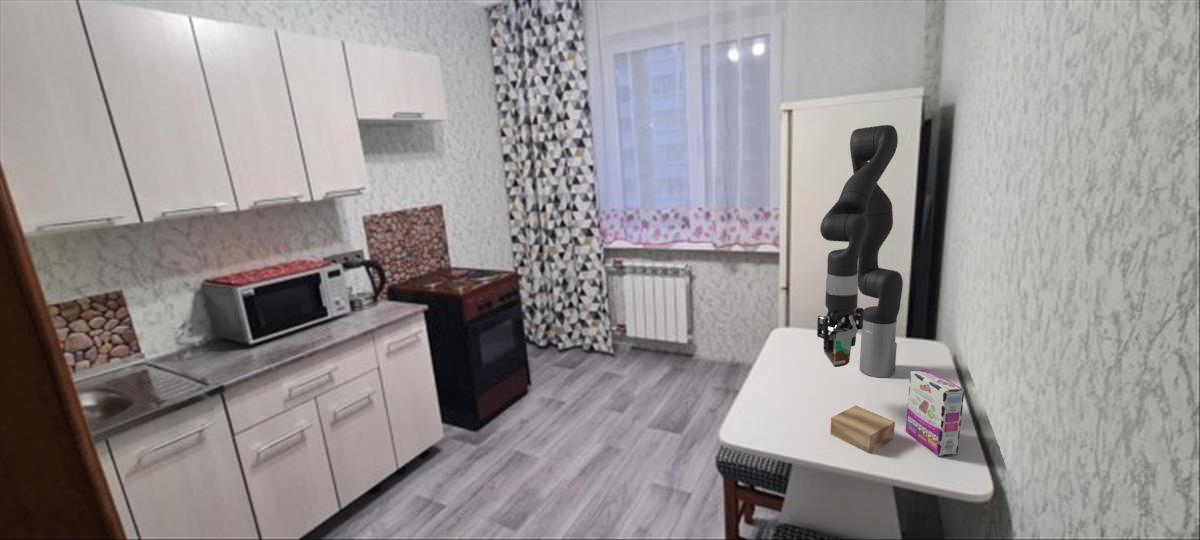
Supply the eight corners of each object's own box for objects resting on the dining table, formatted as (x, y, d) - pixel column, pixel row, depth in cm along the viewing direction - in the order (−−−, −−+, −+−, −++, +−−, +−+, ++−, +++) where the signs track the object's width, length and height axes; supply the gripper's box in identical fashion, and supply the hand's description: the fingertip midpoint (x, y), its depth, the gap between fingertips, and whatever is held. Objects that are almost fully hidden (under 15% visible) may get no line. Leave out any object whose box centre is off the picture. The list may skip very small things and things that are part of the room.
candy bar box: (959, 455, 111) (966, 389, 107) (938, 457, 110) (945, 391, 107) (923, 429, 122) (928, 368, 118) (904, 431, 121) (909, 370, 117)
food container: (861, 369, 125) (863, 332, 122) (836, 369, 126) (837, 333, 123) (845, 349, 137) (846, 316, 134) (822, 350, 138) (823, 316, 135)
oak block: (854, 422, 127) (855, 405, 126) (893, 440, 118) (894, 421, 117) (830, 435, 122) (831, 417, 121) (868, 454, 114) (870, 435, 112)
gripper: (849, 282, 132) (847, 338, 136) (809, 291, 127) (808, 350, 131) (874, 288, 126) (871, 347, 129) (833, 298, 120) (831, 359, 124)
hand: (839, 348), depth 130 cm, fingers closed on food container, 7 cm apart
